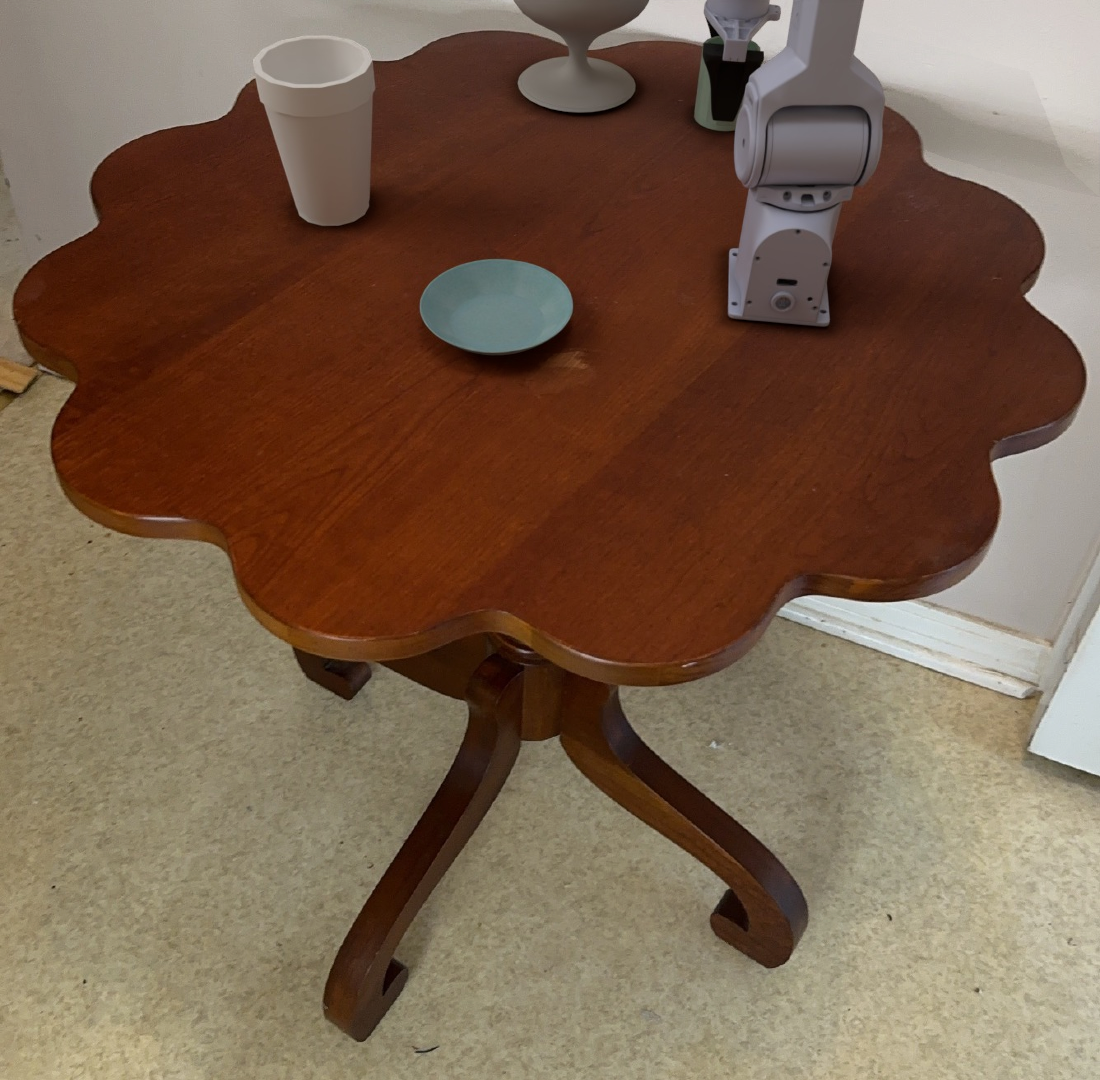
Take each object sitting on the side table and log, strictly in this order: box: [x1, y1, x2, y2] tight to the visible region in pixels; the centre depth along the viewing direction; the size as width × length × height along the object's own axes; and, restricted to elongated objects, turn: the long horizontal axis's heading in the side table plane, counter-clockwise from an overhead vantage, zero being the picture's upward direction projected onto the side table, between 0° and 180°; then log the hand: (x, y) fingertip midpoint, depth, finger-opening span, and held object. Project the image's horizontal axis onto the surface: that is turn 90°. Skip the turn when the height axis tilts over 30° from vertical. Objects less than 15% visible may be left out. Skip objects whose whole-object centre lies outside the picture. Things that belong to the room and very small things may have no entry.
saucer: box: [419, 258, 574, 356], centre depth 85 cm, size 12×12×2 cm
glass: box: [693, 36, 761, 132], centre depth 107 cm, size 6×6×7 cm
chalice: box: [513, 0, 650, 113], centre depth 107 cm, size 14×14×15 cm
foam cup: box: [252, 34, 376, 227], centre depth 92 cm, size 10×9×13 cm
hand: (723, 102), depth 108 cm, fingers open, 6 cm apart
